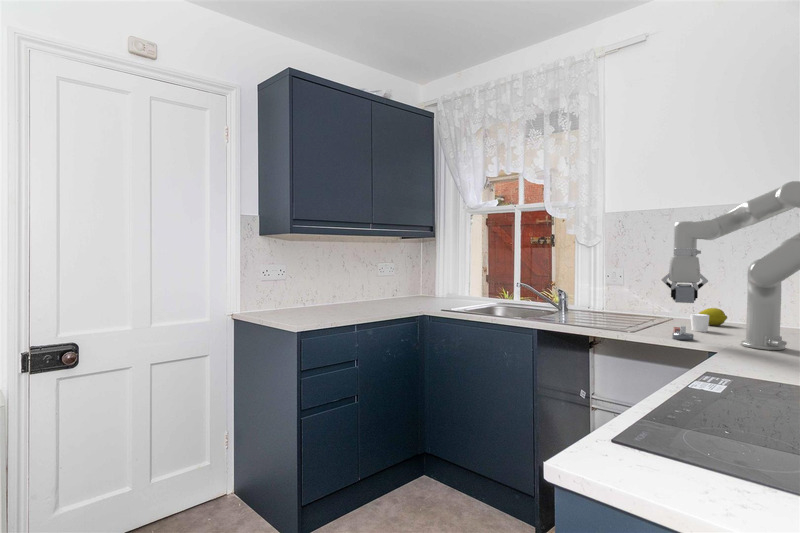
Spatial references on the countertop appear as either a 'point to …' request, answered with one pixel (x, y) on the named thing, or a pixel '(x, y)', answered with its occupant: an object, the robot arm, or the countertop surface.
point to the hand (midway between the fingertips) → (683, 299)
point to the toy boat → (681, 334)
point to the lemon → (715, 316)
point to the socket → (684, 293)
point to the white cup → (699, 322)
